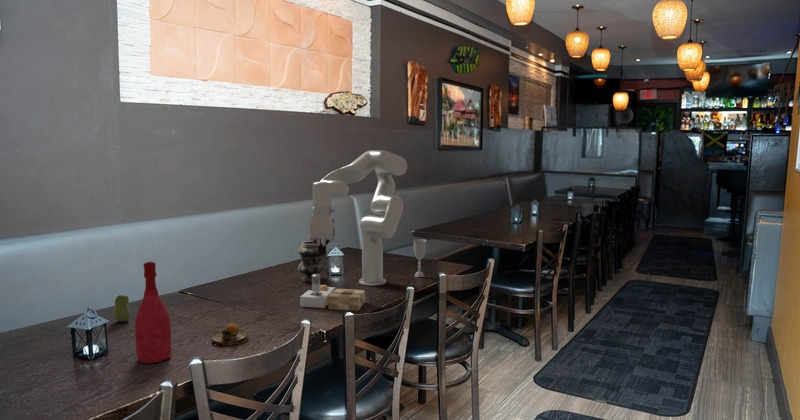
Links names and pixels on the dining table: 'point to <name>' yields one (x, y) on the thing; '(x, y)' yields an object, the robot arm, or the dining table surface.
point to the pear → (121, 309)
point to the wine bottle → (152, 323)
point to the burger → (230, 336)
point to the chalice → (419, 253)
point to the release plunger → (323, 287)
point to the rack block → (346, 299)
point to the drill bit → (316, 284)
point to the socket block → (316, 298)
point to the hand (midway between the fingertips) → (322, 254)
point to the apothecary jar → (309, 260)
